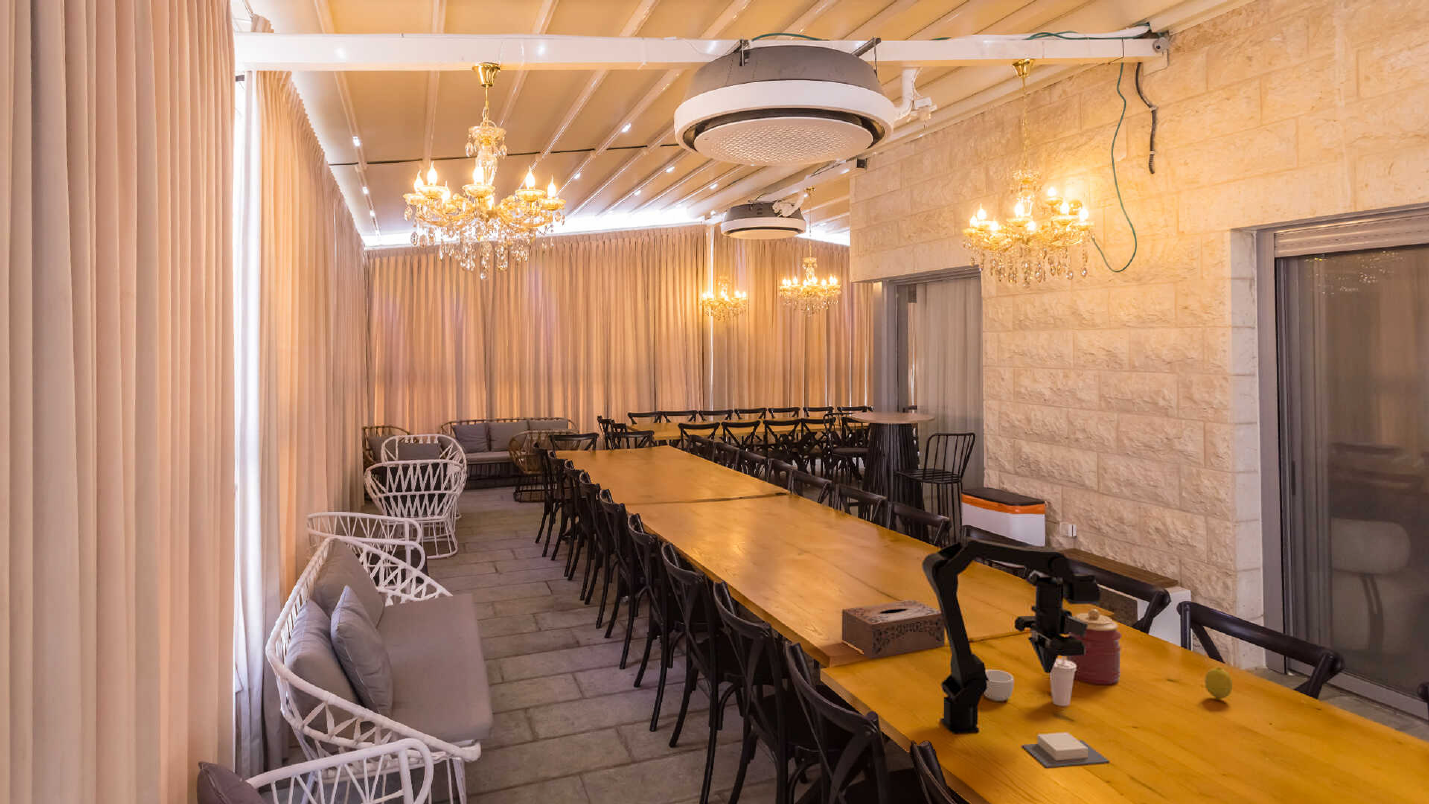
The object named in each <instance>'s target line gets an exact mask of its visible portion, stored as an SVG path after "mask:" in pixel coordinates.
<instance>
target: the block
mask: <svg viewBox="0 0 1429 804" xmlns="http://www.w3.org/2000/svg"><path fill="white" fill-rule="evenodd" d="M1036 744H1038V745H1039V746H1040V747H1042V748H1043V749H1044V750H1045V751H1046V752H1047V753H1049V754H1050V755H1051V756H1052V757H1053V758H1054V759H1056V760H1065V759H1077V758H1088V748H1087V747H1086V746H1085V745H1083V744H1082V743H1081V742H1079V741H1078V739H1077V738H1076V737H1074V736H1073V735H1072V734H1070V733H1069V732H1068V731H1067V732H1055V733H1040V734H1037V738H1036Z"/></svg>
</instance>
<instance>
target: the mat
mask: <svg viewBox="0 0 1429 804" xmlns="http://www.w3.org/2000/svg"><path fill="white" fill-rule="evenodd" d="M1077 740H1078V739H1077ZM1078 741H1079V742H1081V743H1082V744H1083V745H1085V746H1086V747H1087V748H1088V758H1077V759H1065V760H1056V759H1054V758H1053V757H1052V756H1051V755H1050V754H1049V753H1047V752H1046V751H1045V750H1044V749H1043V748H1042V747H1040V746H1039V745H1038V744H1037V743H1029V744H1022V745H1021V747H1022V748H1024V750H1026V752H1028V753H1029V754H1030V755H1031V756H1032V757H1033V758H1034V759H1035V760H1037V762H1039V764H1041V765H1043V766H1044V768H1046V769H1050V768H1051V769H1052V768H1060V767H1071V766H1073V767H1074V766H1085V765H1095V764H1107V763H1110V760H1109V759H1107V758H1106V757H1105V756H1103V755H1102V754H1101V753H1099V752H1098V751H1097V750H1096V749H1094V747H1092V746H1090V745H1089V744H1088V743H1087V742H1085V741H1084V739H1080V740H1078Z"/></svg>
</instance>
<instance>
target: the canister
mask: <svg viewBox="0 0 1429 804" xmlns="http://www.w3.org/2000/svg"><path fill="white" fill-rule="evenodd" d="M1073 617H1075V618H1077V619H1079V620H1081V621H1083V622H1085V623H1087V624H1088V626H1087V629H1086V632H1085V635H1084V637H1080V636H1079V635H1077V634H1074V633H1071V632H1069V635H1068V636H1073V637H1074V638H1076V639H1078V640H1080V641H1082V642H1083V643H1084V645H1085V655H1075V656H1065V660H1068V661H1071V662H1073V663H1075V664H1076V671H1075V673H1074V679H1076V680H1078V681H1081V682H1084V683H1088V684H1093V685H1113V684H1116V683H1118V682H1119V681H1120V678H1121V668H1120V667H1121V650H1122V647H1121V645H1120V639H1121V638H1122V633H1121V632H1120V631H1119V630H1118V627H1119V625H1118V623H1117V622H1116V621H1114V620H1113V619H1112V618H1110V617H1109V616H1107V615H1103V614H1100V612H1099V610H1098V609H1095V608H1091V609H1090V610H1089V611H1088V612H1080V613H1077V614H1076V615H1073Z"/></svg>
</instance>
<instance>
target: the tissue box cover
mask: <svg viewBox="0 0 1429 804" xmlns="http://www.w3.org/2000/svg"><path fill="white" fill-rule="evenodd" d="M945 633H946V630H945V626H944V622H943V618H942V615H941V611H940V609H937V608H935V607H933V606H930V605H928V604H925V603H923V602H921V601H918V600H916V599H914V598H912V599H905V600H898V601H892V602H884V603H877V604H876V603H875V604H872V605H866V606H865V605H864V606H857V607H851V608H844V609H842V610H841V641H842V640H843V641H845V642H847V643H849V644H851V645H853V646H854V647H856V648H858V649H860V650H862V652H863V653H864V655H863V656H864V657H866V658H868V659H870V660H874V659H875V660H876V659H879V658H885V657H889V656H896V655H897V656H898V655H901V654H907V653H912V652H918V651H923V650H928V649H933V648H940V647H945V644H946V643H945V641H946V640H945V638H946V634H945Z"/></svg>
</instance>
